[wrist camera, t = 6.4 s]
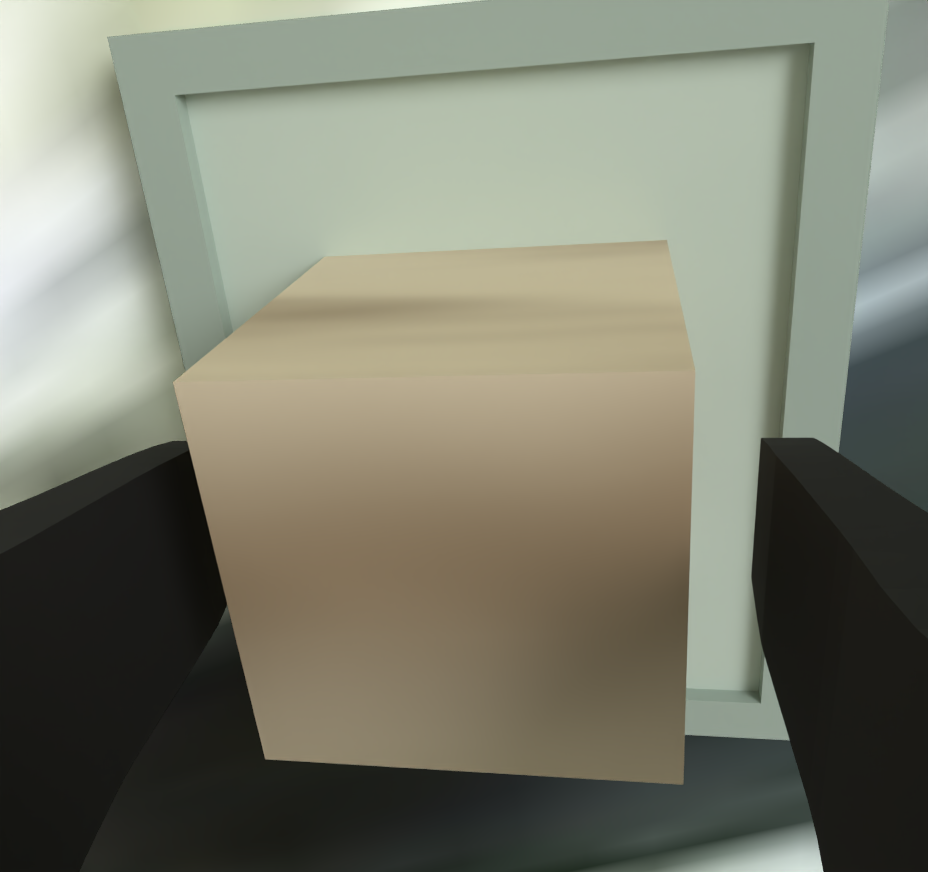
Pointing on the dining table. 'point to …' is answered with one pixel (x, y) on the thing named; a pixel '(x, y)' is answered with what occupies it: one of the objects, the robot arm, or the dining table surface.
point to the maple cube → (459, 509)
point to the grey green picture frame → (551, 203)
